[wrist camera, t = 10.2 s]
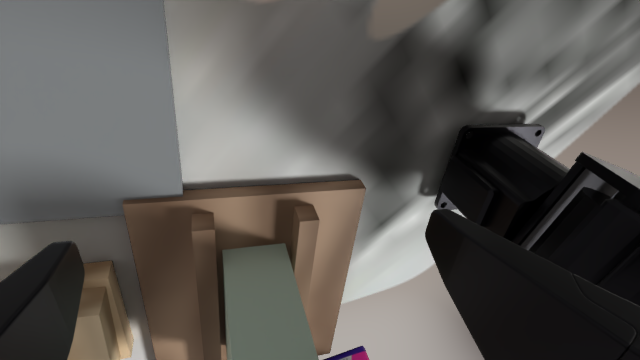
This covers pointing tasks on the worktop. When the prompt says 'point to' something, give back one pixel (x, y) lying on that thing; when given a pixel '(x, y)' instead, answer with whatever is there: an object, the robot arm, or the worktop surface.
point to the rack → (230, 233)
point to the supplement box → (351, 355)
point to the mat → (84, 108)
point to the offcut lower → (111, 301)
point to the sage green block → (264, 306)
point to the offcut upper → (94, 328)
